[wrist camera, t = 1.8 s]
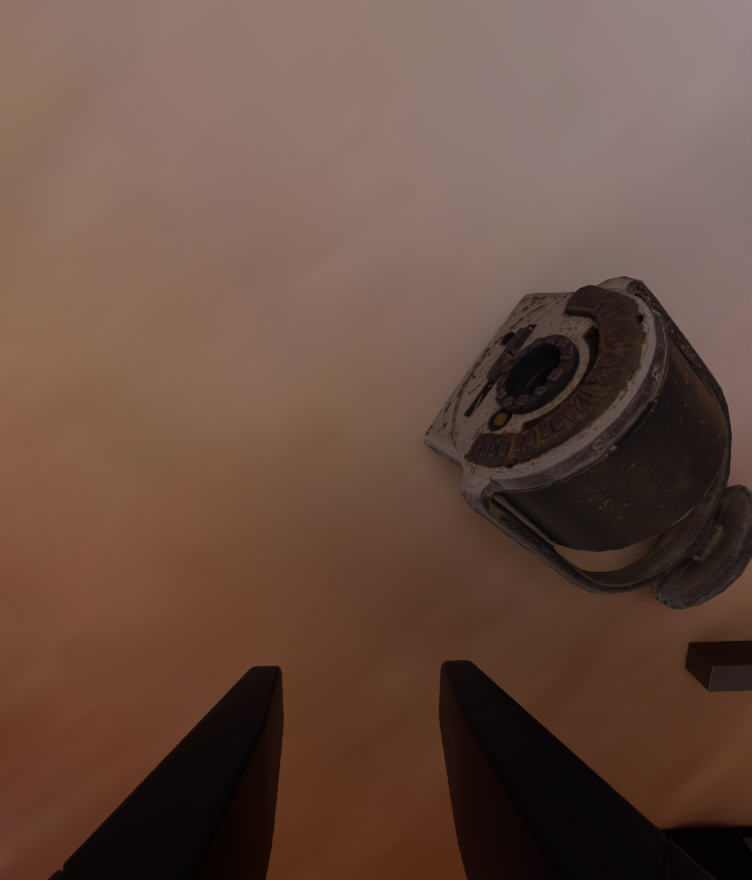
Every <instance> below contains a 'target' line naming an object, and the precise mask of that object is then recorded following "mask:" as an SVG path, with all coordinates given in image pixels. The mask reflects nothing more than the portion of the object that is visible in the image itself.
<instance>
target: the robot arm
mask: <svg viewBox="0 0 752 880" xmlns="http://www.w3.org/2000/svg"><path fill="white" fill-rule="evenodd" d="M439 721H440V729H441V736H442V743H443V750H444V756H445V763H446V770H447V776H448V783H449V790H450V797H451V803H452V810H453V817H454V823H455V828H456V834H457V840H458V844H459V848H460V853H461V857H462V861H463V865H464V869H465V873H466V877H467V880H752V828H750V829H729V830H709V831H688V832H668V833H663V832H662V831H660V830H659V829H658V828H657V827H656V826H655V825H654V824H653V823H651V822H650V821H649V820H648V819H647V818H646V817H645V816H644V815H642V814H641V813H640V812H639V811H638V810H637V809H636V808H635V807H634V806H632V805H631V804H630V803H629V802H628V801H627V800H626V799H625V798H623V797H622V796H621V795H620V794H619V793H618V792H617V791H616V790H614V789H613V788H612V787H611V786H610V785H609V784H608V783H607V782H606V781H604V780H603V779H602V778H601V777H600V776H599V775H598V774H597V773H595V772H594V771H593V770H592V769H591V768H590V767H589V766H588V765H587V764H585V763H584V762H583V761H582V760H581V759H580V758H579V757H578V756H576V755H575V754H574V753H573V752H572V751H571V750H570V749H569V748H567V747H566V746H565V745H564V744H563V743H562V742H561V741H560V740H559V739H557V738H556V737H555V736H554V735H553V734H552V733H551V732H550V731H548V730H547V729H546V728H545V727H544V726H543V725H542V724H541V723H539V722H538V721H537V720H536V719H535V718H534V717H533V716H532V715H531V714H529V713H528V712H527V711H526V710H525V709H524V708H523V707H522V706H520V705H519V704H518V703H517V702H516V701H515V700H514V699H513V698H511V697H510V696H509V695H508V694H507V693H506V692H505V691H504V690H503V689H501V688H500V687H499V686H498V685H497V684H496V683H495V682H494V681H492V680H491V679H490V678H489V677H488V676H487V675H486V674H485V673H484V672H482V671H481V670H480V669H479V668H478V667H477V666H476V665H475V664H473V663H472V662H471V661H468V660H456V661H444V662H443V664H442V666H441V674H440V697H439ZM283 724H284V712H283V688H282V672H281V669H280V667H278V666H255V667H252V668H251V669H249V670H248V671H247V672H246V674H245V675H244V676H243V677H242V678H241V679H240V680H239V681H238V682H237V683H236V684H235V685H234V686H233V687H232V688H231V689H230V690H229V691H228V692H227V693H226V694H225V695H224V697H223V698H222V699H221V700H220V701H219V702H218V703H217V704H216V705H215V706H214V707H213V708H212V709H211V710H210V711H209V712H208V713H207V714H206V715H205V716H204V717H203V718H202V720H201V721H200V722H199V723H198V724H197V725H196V726H195V727H194V728H193V729H192V730H191V731H190V732H189V733H188V734H187V735H186V736H185V737H184V738H183V739H182V740H181V742H180V743H179V744H178V745H177V746H176V747H175V748H174V749H173V750H172V751H171V752H170V753H169V754H168V755H167V756H166V757H165V758H164V759H163V760H162V761H161V762H160V763H159V765H158V766H157V767H156V768H155V769H154V770H153V771H152V772H151V773H150V774H149V775H148V776H147V777H146V778H145V779H144V780H143V781H142V782H141V783H140V784H139V785H138V787H137V788H136V789H135V790H134V791H133V792H132V793H131V794H130V795H129V796H128V797H127V798H126V799H125V800H124V801H123V802H122V803H121V804H120V805H119V806H118V807H117V808H116V810H115V811H114V812H113V813H112V814H111V815H110V816H109V817H108V818H107V819H106V820H105V821H104V822H103V823H102V824H101V825H100V826H99V827H98V828H97V829H96V830H95V832H94V833H93V834H92V835H91V836H90V837H89V838H88V839H87V840H86V841H85V842H84V843H83V844H82V845H81V846H80V847H79V848H78V849H77V850H76V851H75V852H74V853H73V855H72V856H71V857H70V858H69V859H68V860H67V861H66V862H65V863H64V865H63V871H62V870H58V871H56V872H55V873H54V874H53V875H52V876H51V877H50V878H49V879H48V880H266V875H267V870H268V865H269V859H270V853H271V848H272V840H273V831H274V822H275V812H276V801H277V791H278V780H279V769H280V759H281V748H282V738H283ZM63 872H64V873H63Z"/></svg>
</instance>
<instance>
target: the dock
mask: <svg viewBox="0 0 752 880" xmlns="http://www.w3.org/2000/svg"><path fill="white" fill-rule="evenodd" d="M686 668H687V669H688V671H689V672H690V673H691V674H692V675H693V676H694V677H695V678H696V679H697V680H698V681H699V682H700V683H701V684H702V685H703V686H704V687H705V688H706V690H707V691H709V692H715V691H745V690H752V641H738V642H702V643H690V644H689V649H688V655H687V661H686Z"/></svg>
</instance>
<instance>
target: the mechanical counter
mask: <svg viewBox="0 0 752 880" xmlns="http://www.w3.org/2000/svg"><path fill="white" fill-rule="evenodd" d="M731 441H732V434H731V425H730V419H729V412H728V406H727V403H726V400H725V397H724V394H723V391H722V389H721V387H720V385H719V384H718V382H717V381H716V379H715V378H714V376H713V375H712V373H711V372H710V370H709V369H708V368H707V366H706V365H705V364H704V362H703V361H702V359H701V358H700V357H699V355H698V354H697V353H696V351H695V350H694V349H693V347H692V346H691V344H690V343H689V342H688V340H687V339H686V338H685V336H684V335H683V334H682V332H681V331H680V330H679V328H678V327H677V326H676V324H675V323H674V322H673V320H672V319H671V318H670V316H669V315H668V313H667V312H666V311H665V309H664V308H663V307H662V305H661V304H660V302H659V301H658V300H657V298H656V297H655V296H654V295H653V293H652V292H651V291H650V290H649V289H648V288H647V286H646V285H645V284H644V283H643V282H642V281H640V280H637V279H633V278H629V277H625V276H623V277H618V278H613V279H609V280H606V281H604V282H602V283H600V284H599V285H597V286H593V285H588V286H585V287H582V288H580V289H578V290H577V291H576V292H569V293H535V294H528V295H525V296H524V297H523V299H522V300H521V301H520V302H519V304H518V305H517V306H516V307H515V309H514V310H513V311H512V313H511V314H510V316H509V317H508V319H507V320H506V321H505V323H504V324H503V326H502V327H501V328H500V330H499V331H498V332H497V334H496V335H495V336H494V338H493V339H492V340H491V342H490V343H489V344H488V346H487V347H486V348H485V350H484V351H483V352H482V353H481V355H480V356H479V358H478V359H477V360H476V362H475V363H474V364H473V366H472V367H471V368H470V370H469V371H468V372H467V374H466V375H465V377H464V378H463V380H462V381H461V382H460V384H459V385H458V387H457V388H456V389H455V391H454V392H453V394H452V395H451V397H450V398H449V400H448V401H447V402H446V404H445V405H444V407H443V408H442V410H441V411H440V413H439V414H438V416H437V417H436V419H435V420H434V421H433V423H432V424H431V426H430V427H429V429H428V430H427V432H426V433H425V435H424V443H425V445H427V446H428V447H430V448H431V449H433V450H434V451H435V452H436V453H437V454H439V455H441V456H443V457H444V458H446V459H448V460H450V461H451V462H453V463H455V464H456V465H458V466H460V467H462V468H463V469H464V474H463V478H462V482H461V493H462V496H463V497H464V499H465V500H466V502H467V503H468V504H469V505H470V507H471V508H472V509H473V510H474V511H476V512H477V513H478V514H480V515H481V516H482V517H484V518H485V519H486V520H488V521H489V522H490V523H492V524H493V525H494V526H496V527H497V528H498V529H500V530H501V531H502V532H504V533H505V534H506V535H507V536H509V537H510V538H511V539H513V540H514V541H515V542H517V543H518V544H519V545H521V546H522V547H523V548H525V549H526V550H528V551H529V552H530V553H532V554H533V555H534V556H536V557H537V558H539V559H540V560H541V561H543V562H544V563H545V564H547V565H548V566H549V567H550V568H552V569H553V570H554V571H556V572H557V573H558V574H559V575H561V576H562V577H563V578H565V579H566V580H568V581H569V582H570V583H572V584H574V585H576V586H578V587H580V588H582V589H584V590H586V591H588V592H590V593H607V594H611V593H620V592H630V591H633V590H636V589H639V588H642V587H645V586H647V585H649V584H652V590H653V594H654V596H655V598H656V600H658V601H660V602H661V603H663V604H665V605H667V606H669V607H670V608H672V609H685V608H689V607H693V606H697V605H701V604H703V603H704V602H706V601H708V600H710V599H711V598H713V597H715V596H717V595H718V594H720V593H722V592H723V591H725V590H726V589H727V588H728V587H729V586H730V585H731V584H732V583H733V582H734V581H735V580H736V579H737V578H739V577H740V576H741V574H742V573H743V571H744V569H745V568H746V566H747V564H748V563H749V561H750V560H751V558H752V492H751V491H750V490H749V489H748V488H747V487H745V486H742V485H736V486H731V487H726V484H727V481H728V478H729V474H730V459H731ZM725 487H726V488H725ZM664 530H665V532H664V533H663V535H662V536H661V538H660V540H659V541H658V543H657V544H656V545H655V546H654V547H653V548H652V549H651V550H650V551H649V552H648V554H647V555H646V556H644V557H642V558H641V559H639V560H637V561H636V562H634V563H633V564H631V565H629V566H627V567H624V568H622V569H619V570H614V571H609V572H590V571H585V570H581V569H579V568H578V567H576V566H575V565H573V564H572V563H570V562H569V561H568V560H566V559H565V558H564V557H563V556H561V555H560V554H559V553H557V552H556V550H555V549H554V548H553V546H554V545H557V544H558V545H561V546H565V547H568V548H572V549H575V550H584V551H594V552H600V551H609V550H618V549H622V548H625V547H628V546H631V545H634V544H637V543H640V542H643V541H646V540H649V539H650V538H652V537H654V536H656V535H657V534H659V533H661V532H663V531H664Z"/></svg>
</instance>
